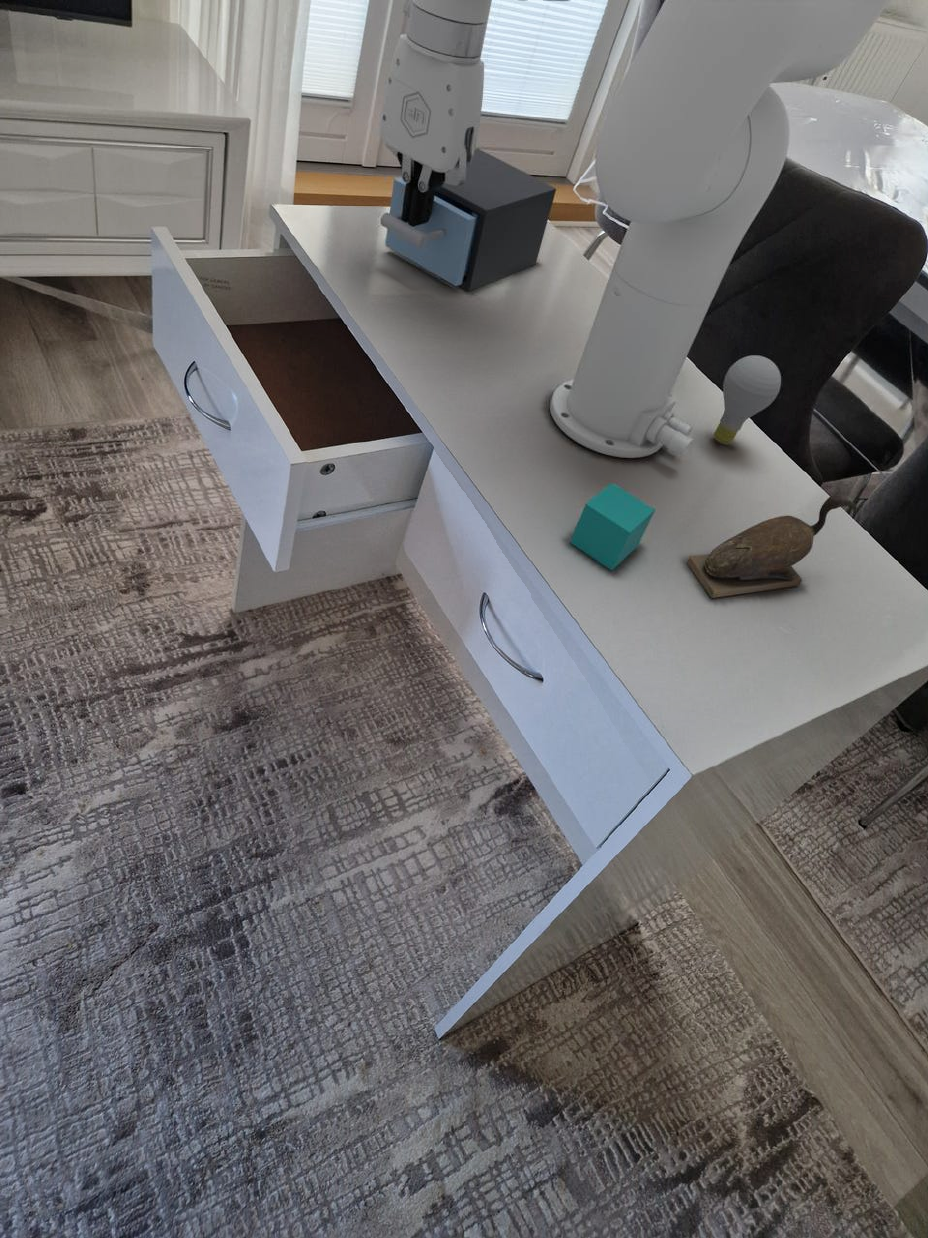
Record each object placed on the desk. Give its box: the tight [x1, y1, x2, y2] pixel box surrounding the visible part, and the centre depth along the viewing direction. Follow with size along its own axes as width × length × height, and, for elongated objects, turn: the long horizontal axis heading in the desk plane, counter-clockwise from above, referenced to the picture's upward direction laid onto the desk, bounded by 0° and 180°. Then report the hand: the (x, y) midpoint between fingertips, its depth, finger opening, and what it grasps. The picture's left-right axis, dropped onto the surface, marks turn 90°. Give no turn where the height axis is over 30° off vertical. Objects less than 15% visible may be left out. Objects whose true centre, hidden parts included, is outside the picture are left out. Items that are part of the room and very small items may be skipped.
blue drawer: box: [380, 176, 480, 287], centre depth 98 cm, size 18×11×8 cm, turn 141°
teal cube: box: [569, 482, 656, 571], centre depth 70 cm, size 4×4×4 cm
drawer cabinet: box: [436, 148, 557, 292], centre depth 101 cm, size 15×13×10 cm
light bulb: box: [713, 354, 782, 445], centre depth 84 cm, size 5×6×10 cm
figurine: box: [687, 494, 858, 599], centre depth 71 cm, size 14×4×9 cm, turn 110°
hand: (415, 221), depth 93 cm, fingers closed
